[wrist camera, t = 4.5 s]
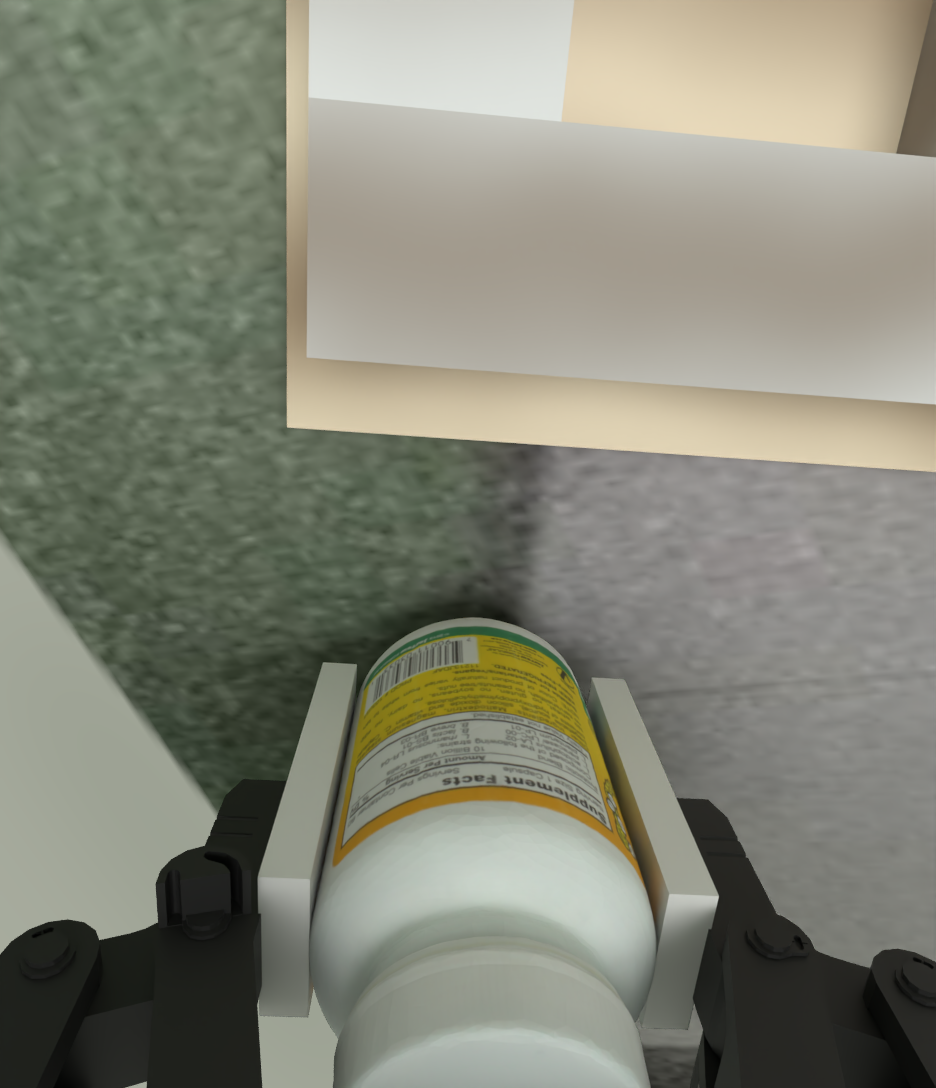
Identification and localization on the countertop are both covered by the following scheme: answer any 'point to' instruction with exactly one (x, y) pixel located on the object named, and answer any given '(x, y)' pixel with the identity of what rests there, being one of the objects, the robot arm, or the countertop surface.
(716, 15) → the block
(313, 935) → the supplement bottle
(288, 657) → the countertop surface
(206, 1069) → the robot arm
